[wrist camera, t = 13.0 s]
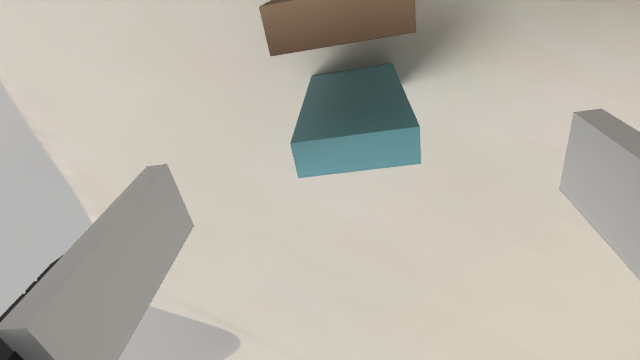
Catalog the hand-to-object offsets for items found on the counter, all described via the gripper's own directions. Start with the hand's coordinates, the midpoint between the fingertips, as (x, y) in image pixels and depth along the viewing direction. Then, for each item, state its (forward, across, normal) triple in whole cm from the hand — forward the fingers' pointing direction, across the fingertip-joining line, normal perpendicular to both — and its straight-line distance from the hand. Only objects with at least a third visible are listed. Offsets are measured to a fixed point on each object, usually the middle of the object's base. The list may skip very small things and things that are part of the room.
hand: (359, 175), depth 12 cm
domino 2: (+12, 0, -1) cm, 12 cm away
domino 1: (+12, 0, +4) cm, 13 cm away
